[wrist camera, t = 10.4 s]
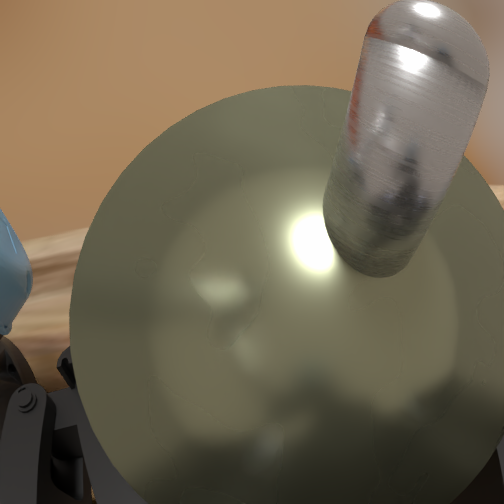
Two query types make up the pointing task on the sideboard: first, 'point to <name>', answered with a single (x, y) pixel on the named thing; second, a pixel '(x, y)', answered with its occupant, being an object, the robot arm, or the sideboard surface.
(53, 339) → the sideboard surface
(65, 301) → the sideboard surface
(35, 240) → the sideboard surface
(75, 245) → the sideboard surface
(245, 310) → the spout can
